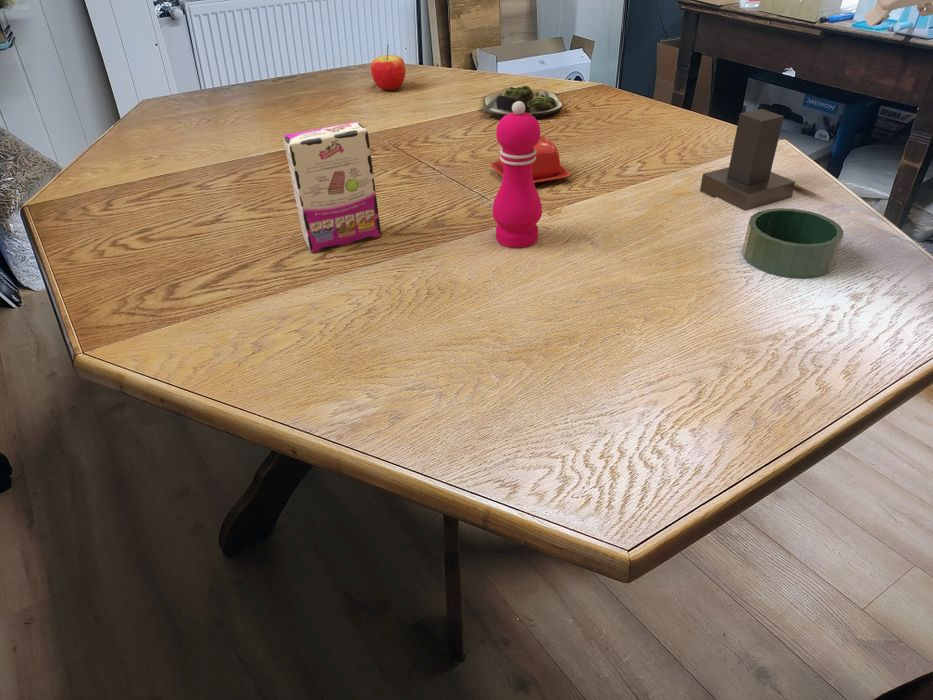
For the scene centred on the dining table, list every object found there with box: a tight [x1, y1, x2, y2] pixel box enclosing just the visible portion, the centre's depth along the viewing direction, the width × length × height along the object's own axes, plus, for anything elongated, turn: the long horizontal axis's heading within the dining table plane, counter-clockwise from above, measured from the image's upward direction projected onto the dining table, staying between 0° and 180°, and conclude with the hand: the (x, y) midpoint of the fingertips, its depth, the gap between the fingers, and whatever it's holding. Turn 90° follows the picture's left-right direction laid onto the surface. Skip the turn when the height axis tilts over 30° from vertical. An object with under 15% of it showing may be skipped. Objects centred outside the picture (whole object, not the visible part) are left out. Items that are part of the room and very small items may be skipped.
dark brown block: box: [728, 108, 785, 185], centre depth 107 cm, size 4×4×10 cm
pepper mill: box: [491, 101, 543, 249], centre depth 96 cm, size 7×7×20 cm
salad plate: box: [481, 84, 563, 121], centre depth 152 cm, size 19×18×5 cm
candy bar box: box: [282, 121, 382, 254], centre depth 99 cm, size 11×5×16 cm, turn 115°
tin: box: [741, 207, 844, 280], centre depth 93 cm, size 12×12×5 cm
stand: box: [699, 166, 796, 212], centre depth 111 cm, size 10×10×3 cm
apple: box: [370, 44, 406, 91], centre depth 166 cm, size 8×8×10 cm
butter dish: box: [490, 134, 571, 184], centre depth 119 cm, size 12×12×8 cm
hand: (896, 16), depth 84 cm, fingers open, 8 cm apart
